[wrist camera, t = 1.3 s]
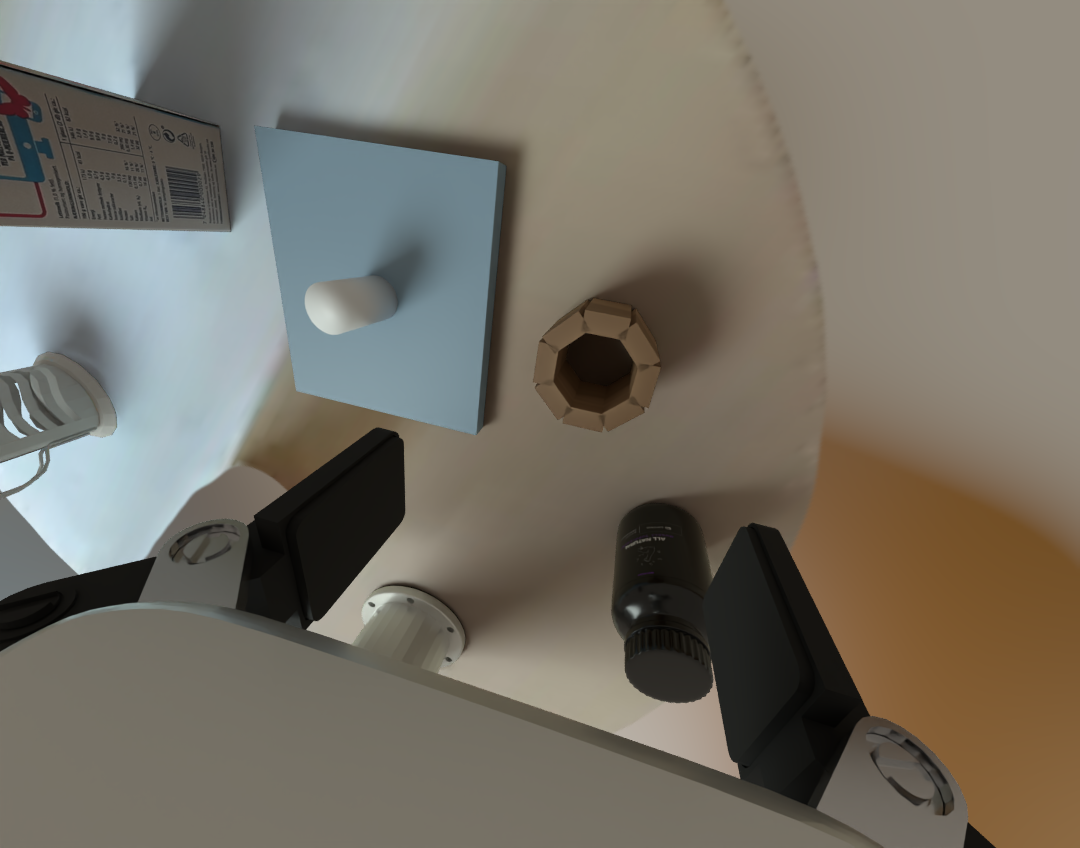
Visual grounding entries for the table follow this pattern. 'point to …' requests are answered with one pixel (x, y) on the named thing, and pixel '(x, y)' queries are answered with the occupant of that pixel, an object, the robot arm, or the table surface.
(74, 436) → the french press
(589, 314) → the walnut ring
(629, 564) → the supplement bottle
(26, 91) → the juice carton
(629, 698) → the table surface
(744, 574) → the robot arm
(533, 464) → the table surface
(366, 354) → the post board
